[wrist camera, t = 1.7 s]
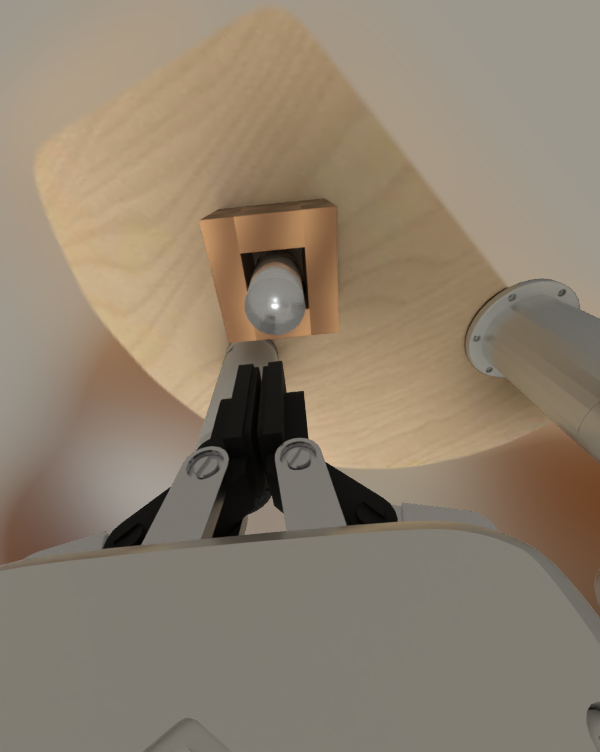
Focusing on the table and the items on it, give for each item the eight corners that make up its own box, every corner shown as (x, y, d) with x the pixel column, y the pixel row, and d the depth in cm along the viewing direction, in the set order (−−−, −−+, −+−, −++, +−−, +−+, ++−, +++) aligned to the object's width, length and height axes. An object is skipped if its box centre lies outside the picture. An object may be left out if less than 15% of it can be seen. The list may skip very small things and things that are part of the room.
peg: (297, 247, 26) (302, 274, 19) (301, 294, 28) (307, 332, 21) (250, 252, 26) (239, 280, 19) (258, 298, 28) (250, 337, 21)
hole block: (324, 198, 28) (336, 206, 22) (328, 301, 34) (338, 332, 27) (218, 209, 29) (198, 220, 22) (239, 309, 34) (228, 343, 27)
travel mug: (217, 338, 36) (160, 480, 19) (271, 328, 36) (261, 464, 19) (233, 380, 39) (196, 531, 23) (282, 371, 39) (282, 519, 22)
